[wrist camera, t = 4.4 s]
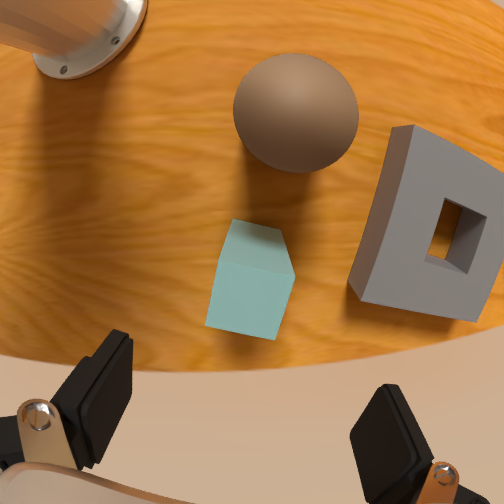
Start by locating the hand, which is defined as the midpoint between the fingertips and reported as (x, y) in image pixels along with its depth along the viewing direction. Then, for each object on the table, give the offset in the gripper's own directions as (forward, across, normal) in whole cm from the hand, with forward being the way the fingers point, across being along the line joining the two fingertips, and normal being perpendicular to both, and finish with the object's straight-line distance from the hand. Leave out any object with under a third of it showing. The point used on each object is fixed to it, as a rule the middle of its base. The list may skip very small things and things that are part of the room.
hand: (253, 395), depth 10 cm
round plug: (+16, +1, -11) cm, 19 cm away
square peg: (+16, +1, -1) cm, 17 cm away
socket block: (+17, -15, -7) cm, 24 cm away
